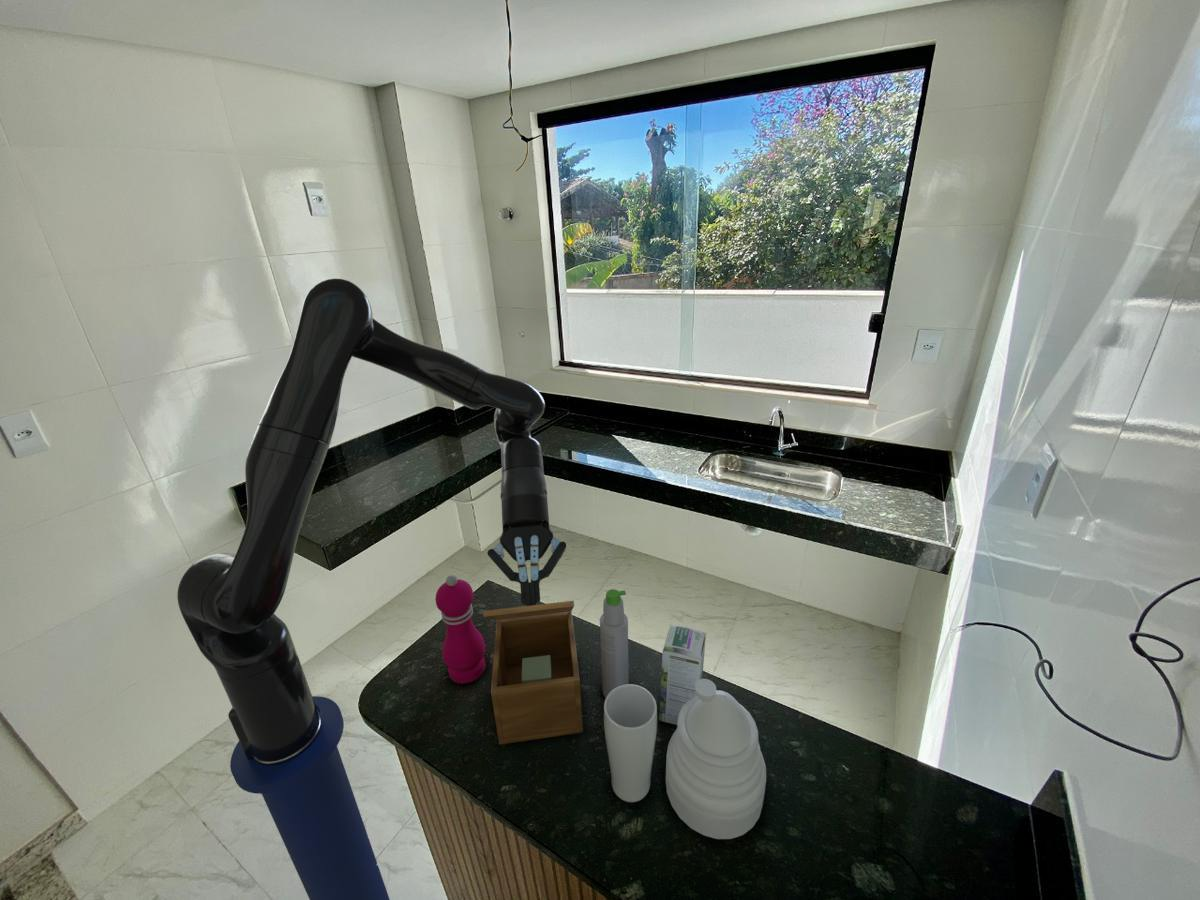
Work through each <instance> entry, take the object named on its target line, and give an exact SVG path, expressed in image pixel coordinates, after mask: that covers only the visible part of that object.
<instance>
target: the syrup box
mask: <svg viewBox="0 0 1200 900" xmlns="http://www.w3.org/2000/svg"><path fill="white" fill-rule="evenodd" d="M706 638H707V632H705V631H702V630H699V629H695V628H691V627H686V626H682V625H676V624H675V625H674V624H670V625H669V627H668V631H667V633H666V639H665V642H664V644H663V645H664V646H663V648H662V654H661V671H660V689H659V690H660V691H659V712H658V720H659V721H660V722H663V723H668V724H672V725H676V726H677V721H678V715H679V712H680V710H681V708H682V706H683V705H684V704H685V703H686V702H687V701H688V700H690V699H692V698H694V697H695V696H697V694H696V692H695V683H696V682H697V681H698V680H700V679H703V675H704V674H703V673H704V662H705V653H706V652H705V651H706Z"/></svg>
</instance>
